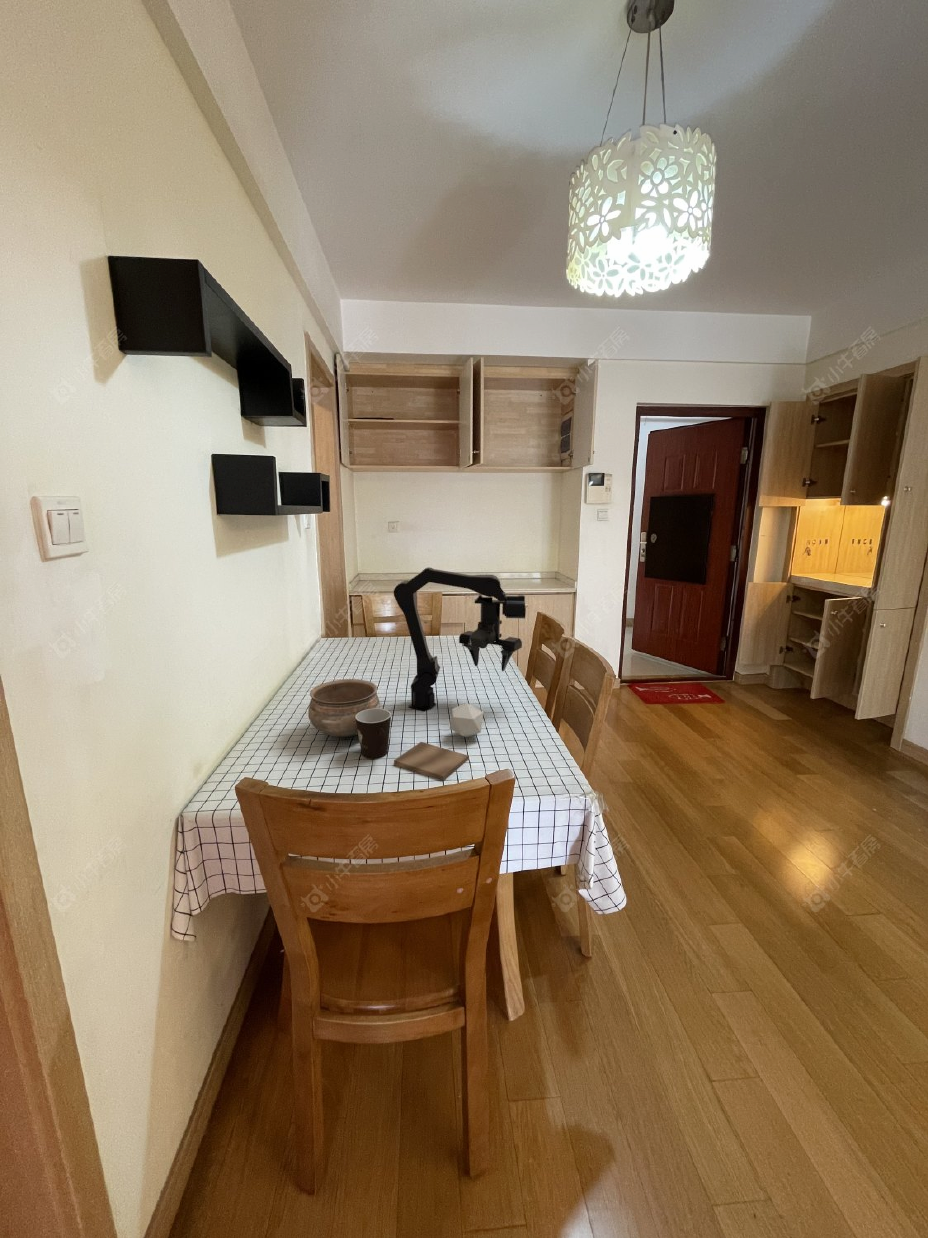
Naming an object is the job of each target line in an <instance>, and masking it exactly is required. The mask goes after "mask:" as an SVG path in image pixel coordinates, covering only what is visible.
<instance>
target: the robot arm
mask: <svg viewBox="0 0 928 1238" xmlns="http://www.w3.org/2000/svg"><path fill="white" fill-rule="evenodd" d="M429 583H432V584H438V585H444V586H449V587H450V586H451V587H457V588H460V589H466V590H467V589H468V590H470V591H473V592H475V593H477V594H479V595H478V597H476V598H474V604H480V621H478V622H477V629H475V630H474V631H473V630H468V631H465V632H464V631H463V632H462V633H460V635H459V636H458V643H459V644H462V646H463V647H465V648H467V649H468V651H469V654H470V655H471V659H472V662H473V664H474V666H475V667H478V666H479V661H480V649H485V648H487V647H488V645H494V646H501V649H502V650H500V653H501V655H502V656H501V671H502V672H504V671H505V670H506V668H507V665H508V663H509V662H510V659H511V657H512V655H513V653H514V652H517V651H518V650H520V649H521V648H523V642H522V640H521V638H519V637H514V636H513V637H511V636H508V637H507V638H504V639H503V638H502V637H503V636H502V633H500V630H501V629H500V628H501V626H500V625H502V624H503V623H502V622H503V620H501V614H502V615H503V616H504V617H505V618H506V619H526V611H527V609H526V600H525V599H526V596H525V595H523V594H519V595H507V594H506V591H504V590H503V588H502V585H501V581H500V579H499V577H497V576H496V575H494V574H476V575H475V574H473V575H472V574H471V575H470V574H466V573H465V574H464V573H460V572H459V573H458V572H454V571H446V570H442V569H435V568H432V567H430V566H429V567H428V566H427V567H425V568H424V569H423V570H421V572H420V573H418V574H417V575H415V576H414V577H412V578H411V579H410V580H402V581H400V583H398V584H397V585H395V588H394V589H393V597H394V599H395V602H396V603H397V605H398V607H399V608H400V610H401V611H402V613H403V615H404V618H405V622H406V626H407V629H408V632H409V635H410V640H411V642H412V646H413V649H414V650H413V651H414V653H415V657H416V673H417V674H415V676H414V678H413V679H412V682H411V685H410V694H411V695H410V696H411V697H410V698H411V702H410V703H411V704H409V705H408V708H409V709H414V710H417V711H421V712H427V711H429V710H430V709H432V708H434V707H435V706H437V703H436V702H435V700H436V699H435V698H436V697H435V692H434V687H433V685H435V684H436V682H437V679H438V676H439V673H440V669H441V666H440V665H439V662H438V661H439V660H438V656H437V655H436V656H432V654H431V652H430V649H429V646H428V643H427V639H426V635H425V631H424V628H423V625H422V621H421V616H420V613H419V611H418V609H419V608H418V591H419V590H420V589H422V588H423V587H424V586H426V585H427V584H429ZM493 598H494V599H493ZM501 606H502V607H501Z"/></svg>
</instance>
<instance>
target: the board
mask: <svg viewBox="0 0 928 1238" xmlns="http://www.w3.org/2000/svg"><path fill="white" fill-rule="evenodd" d="M468 761H469V755H468V754H465V753H461V752H457V751H454V750H451V749H447V748H444V747H441V746H437V745H434V744H430V743H427V742H424V741H423V742H422V741H420V742H419V743H417V744H415V745H414V746H413V747H411V748H409V749H408V750H407V751H405V752H404V753H403V754H401V755H399V756H398V757H397V758H395V759H394V760H393V765H394V766H396V767H399V768H401V769H406V770H409V771H412V772H414V773H418V774H421V775H424V776H426V777H430V778H433V779H436V780H439V781H442V782H445V781H446V780H447V779H448V778H450V776H452V775H453V774H454V773H455V772H456V771H458V769H460V768H461V767H462V766H463V765H464V764H465V763H466V762H468Z"/></svg>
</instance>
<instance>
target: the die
mask: <svg viewBox="0 0 928 1238" xmlns="http://www.w3.org/2000/svg"><path fill="white" fill-rule="evenodd" d="M483 718H484V711H483V710H480V709H479V708H477V707H476V706H473V705H471V704H470V703H468V702H465V703H463V704H461V705H459V706H455V707H454V708H452V710H451V717H450V723H449V724H450V725H449V729H450V730H451V731H453V732H455V733H457V734H459V736H462V737H464V738H466V739H467V738H470V737H473V736H475V735H478V734H481V733H482V725H483V721H484V719H483Z"/></svg>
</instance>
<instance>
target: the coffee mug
mask: <svg viewBox="0 0 928 1238" xmlns="http://www.w3.org/2000/svg"><path fill="white" fill-rule="evenodd" d="M355 718H356V724H357V730H358V734H357V735H358V741H359V746H360V751H361V752H360V753H361V756H362V758H364V759H368V760H378V759H381V758H384V757H386V756H387V755H388V753H389V745H390V744H389V741H390V731H391V730H390V729H391V720H392V713H391V712H390V711H389V710H387V709H384V708H381V709H378V708H374V709H367V710H363V711H361V712H359V713H357V714H356V716H355Z"/></svg>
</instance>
